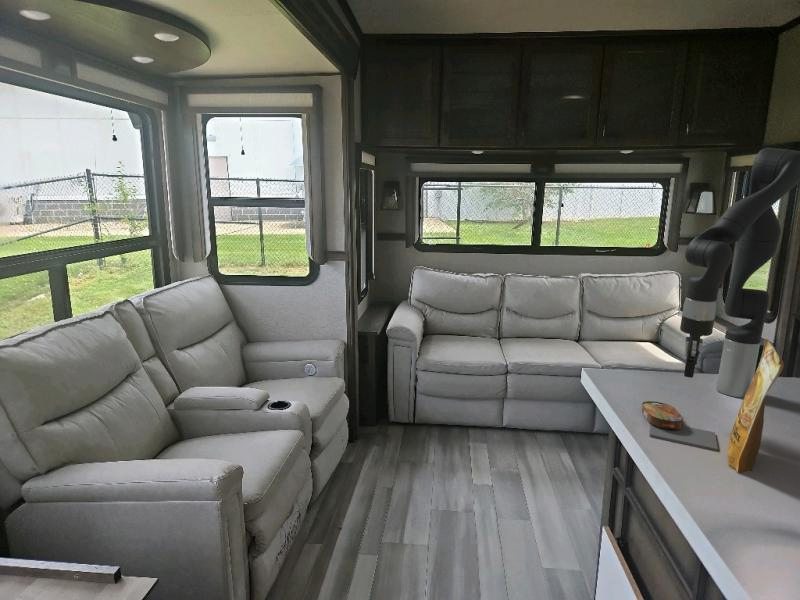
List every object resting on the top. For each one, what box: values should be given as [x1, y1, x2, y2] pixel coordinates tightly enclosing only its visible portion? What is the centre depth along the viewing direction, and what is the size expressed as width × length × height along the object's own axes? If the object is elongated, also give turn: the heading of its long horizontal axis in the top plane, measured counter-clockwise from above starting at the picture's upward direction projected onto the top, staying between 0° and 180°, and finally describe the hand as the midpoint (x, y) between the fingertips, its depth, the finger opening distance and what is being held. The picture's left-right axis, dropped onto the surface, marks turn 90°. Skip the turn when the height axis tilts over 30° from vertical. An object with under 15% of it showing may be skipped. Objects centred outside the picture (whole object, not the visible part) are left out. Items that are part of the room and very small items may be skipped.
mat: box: [649, 423, 719, 452], centre depth 133 cm, size 10×15×1 cm, turn 63°
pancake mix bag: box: [727, 338, 785, 473], centre depth 119 cm, size 7×19×28 cm, turn 146°
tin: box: [641, 400, 684, 429], centre depth 140 cm, size 15×3×8 cm
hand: (688, 376), depth 141 cm, fingers closed
